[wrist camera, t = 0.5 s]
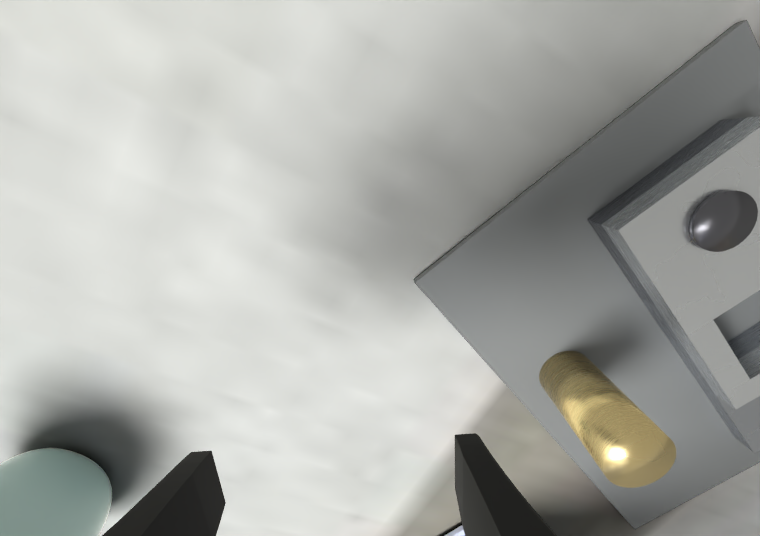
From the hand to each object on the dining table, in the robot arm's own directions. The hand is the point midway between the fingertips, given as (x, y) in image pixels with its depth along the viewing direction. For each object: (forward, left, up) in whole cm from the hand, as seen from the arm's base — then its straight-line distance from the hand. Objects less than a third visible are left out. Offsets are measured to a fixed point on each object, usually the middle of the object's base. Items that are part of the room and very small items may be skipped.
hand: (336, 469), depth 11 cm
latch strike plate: (-12, -16, -10) cm, 22 cm away
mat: (-12, -13, -10) cm, 20 cm away
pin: (-10, -7, -9) cm, 15 cm away
